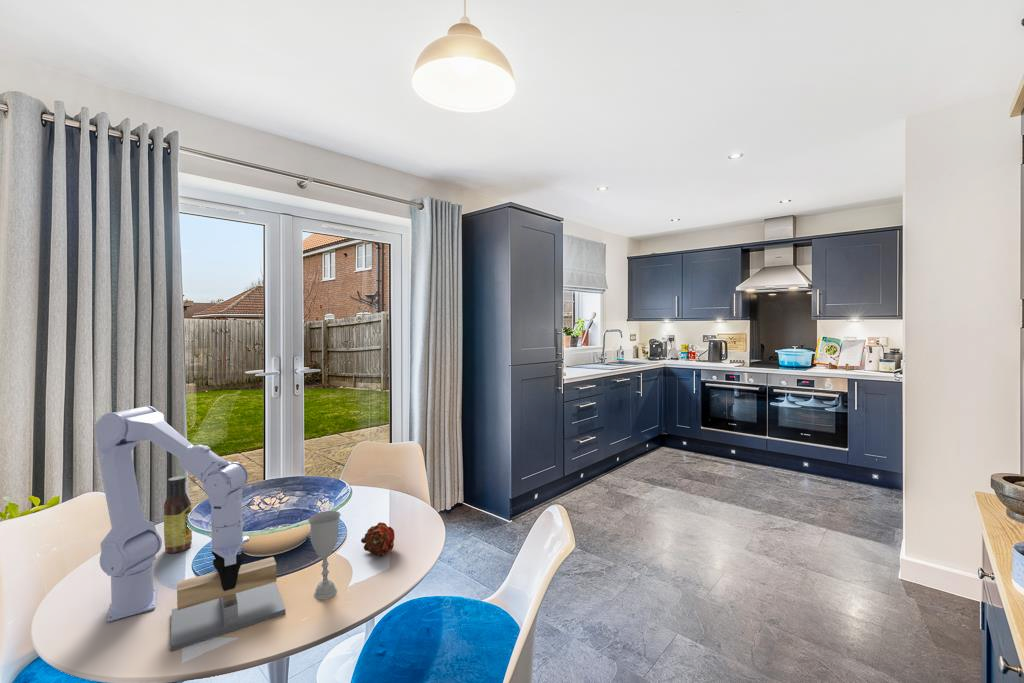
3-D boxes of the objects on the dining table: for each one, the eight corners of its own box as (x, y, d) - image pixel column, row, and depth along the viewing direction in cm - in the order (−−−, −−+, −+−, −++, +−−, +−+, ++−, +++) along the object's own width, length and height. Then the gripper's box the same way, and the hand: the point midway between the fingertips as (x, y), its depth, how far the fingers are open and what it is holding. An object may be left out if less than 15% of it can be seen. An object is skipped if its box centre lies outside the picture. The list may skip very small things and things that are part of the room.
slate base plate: (171, 613, 99) (171, 609, 99) (274, 583, 111) (274, 579, 111) (170, 651, 88) (170, 646, 88) (285, 613, 100) (285, 608, 100)
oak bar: (177, 600, 96) (177, 581, 96) (273, 573, 106) (273, 556, 106) (177, 610, 92) (177, 590, 92) (276, 581, 103) (276, 564, 103)
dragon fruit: (380, 569, 120) (374, 555, 131) (405, 545, 124) (397, 533, 135) (359, 546, 119) (355, 534, 130) (385, 522, 122) (379, 511, 133)
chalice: (325, 605, 103) (324, 525, 102) (301, 598, 105) (300, 521, 104) (347, 587, 110) (347, 513, 109) (325, 581, 112) (324, 509, 111)
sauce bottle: (192, 550, 127) (190, 479, 127) (163, 556, 124) (162, 483, 123) (192, 541, 133) (190, 473, 132) (165, 546, 129) (163, 477, 128)
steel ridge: (220, 596, 104) (219, 579, 104) (232, 593, 105) (232, 576, 105) (224, 627, 93) (224, 608, 93) (238, 623, 95) (237, 604, 95)
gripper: (252, 529, 95) (253, 593, 96) (244, 506, 107) (245, 564, 107) (212, 538, 91) (213, 605, 92) (208, 514, 103) (209, 573, 103)
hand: (228, 583), depth 99 cm, fingers open, 4 cm apart
